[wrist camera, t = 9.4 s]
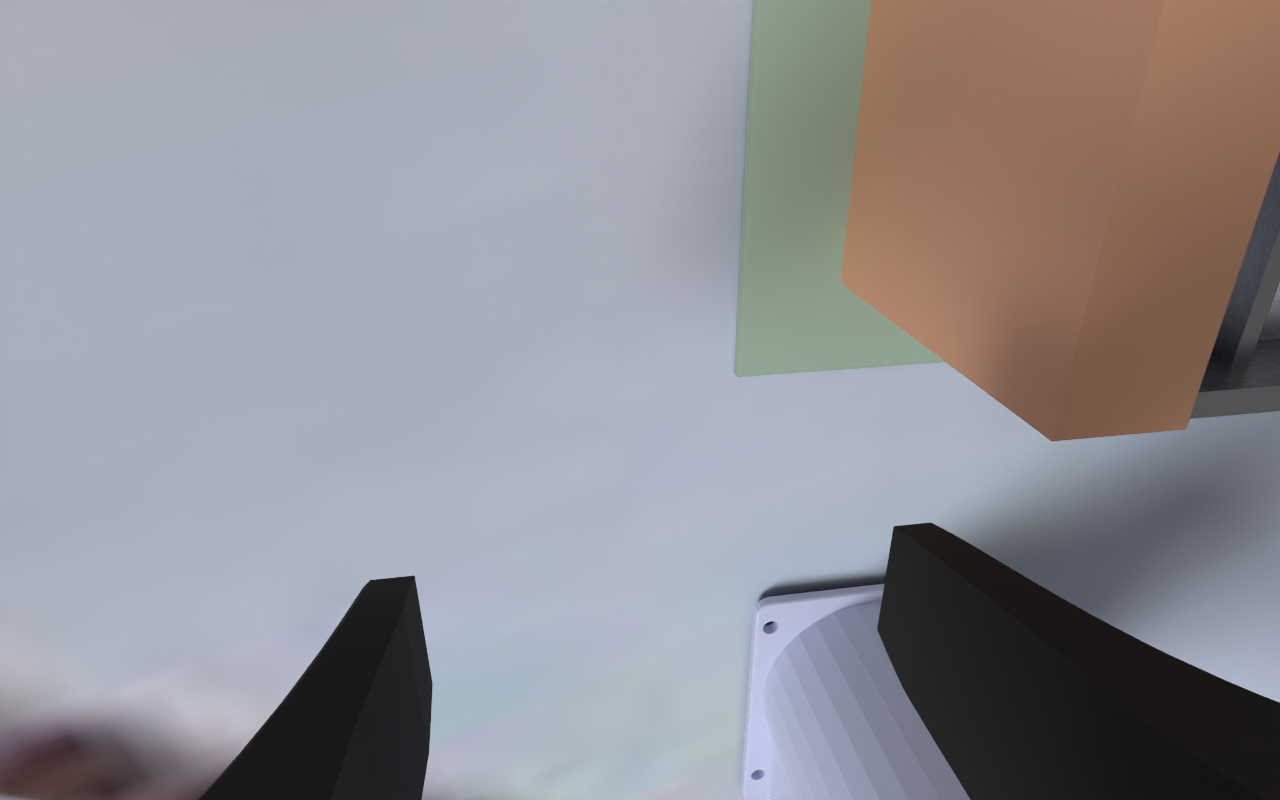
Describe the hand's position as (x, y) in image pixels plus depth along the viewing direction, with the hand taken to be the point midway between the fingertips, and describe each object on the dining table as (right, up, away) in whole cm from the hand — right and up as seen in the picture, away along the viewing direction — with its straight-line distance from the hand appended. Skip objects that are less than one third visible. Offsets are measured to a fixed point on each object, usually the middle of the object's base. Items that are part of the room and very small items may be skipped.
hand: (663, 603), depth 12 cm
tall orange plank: (+6, +9, +8) cm, 14 cm away
